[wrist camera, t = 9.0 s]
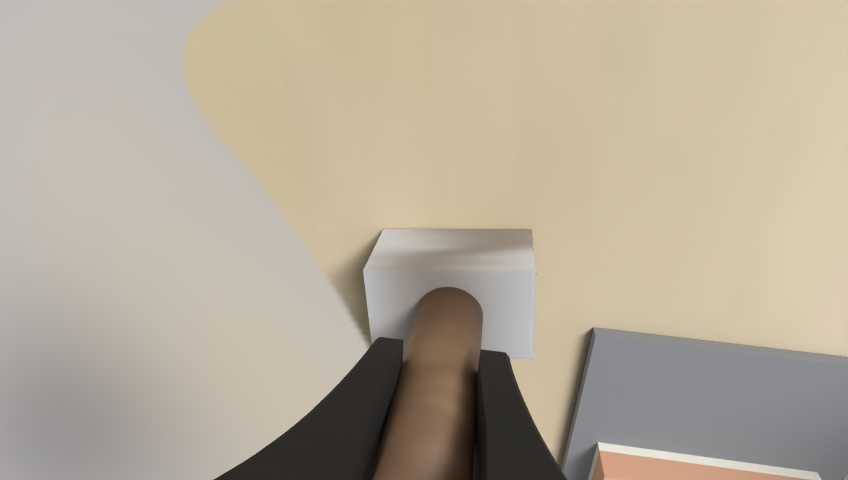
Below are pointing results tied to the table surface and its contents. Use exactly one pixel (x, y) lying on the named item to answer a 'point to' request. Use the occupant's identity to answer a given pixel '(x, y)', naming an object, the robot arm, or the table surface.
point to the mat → (710, 403)
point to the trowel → (445, 336)
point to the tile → (680, 467)
